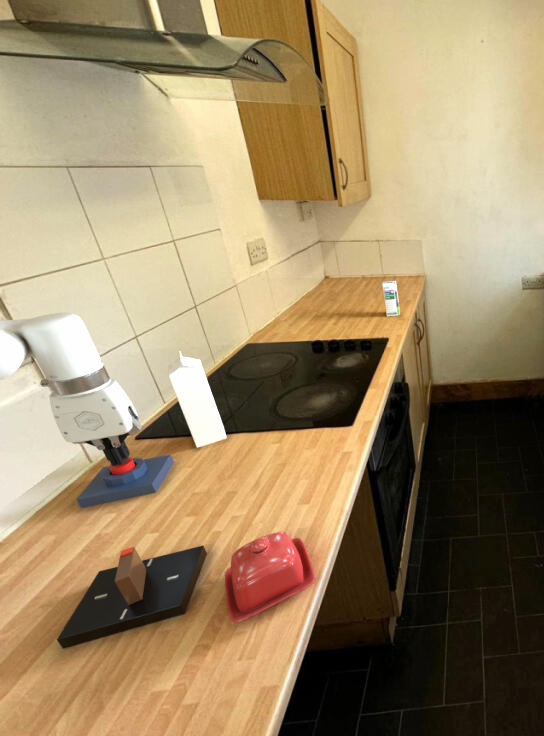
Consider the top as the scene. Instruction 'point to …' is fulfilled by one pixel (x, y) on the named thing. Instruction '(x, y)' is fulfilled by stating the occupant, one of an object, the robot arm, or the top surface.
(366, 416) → the top surface
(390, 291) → the syrup box
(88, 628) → the panel
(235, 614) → the butter dish
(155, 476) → the button box
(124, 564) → the dial knob
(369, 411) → the top surface
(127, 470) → the button
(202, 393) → the milk
